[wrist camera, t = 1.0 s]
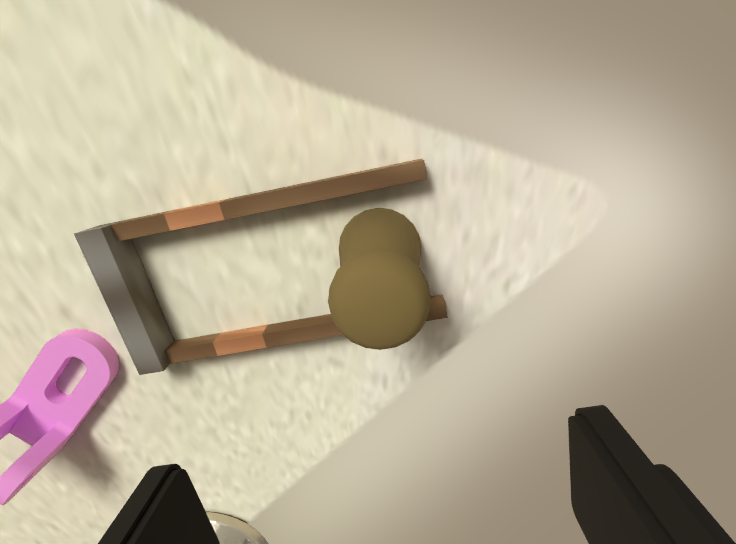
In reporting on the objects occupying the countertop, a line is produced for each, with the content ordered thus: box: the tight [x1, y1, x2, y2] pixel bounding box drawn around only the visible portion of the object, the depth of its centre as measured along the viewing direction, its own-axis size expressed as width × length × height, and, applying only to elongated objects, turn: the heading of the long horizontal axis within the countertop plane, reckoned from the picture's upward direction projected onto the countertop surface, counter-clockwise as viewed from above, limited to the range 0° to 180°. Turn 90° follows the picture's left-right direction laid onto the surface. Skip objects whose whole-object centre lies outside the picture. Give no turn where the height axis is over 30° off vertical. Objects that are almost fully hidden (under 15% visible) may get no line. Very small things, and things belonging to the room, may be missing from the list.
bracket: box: [0, 329, 119, 505], centre depth 31 cm, size 13×6×7 cm, turn 140°
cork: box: [328, 208, 431, 350], centre depth 23 cm, size 6×6×11 cm
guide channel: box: [74, 159, 448, 375], centre depth 28 cm, size 11×24×2 cm, turn 101°
